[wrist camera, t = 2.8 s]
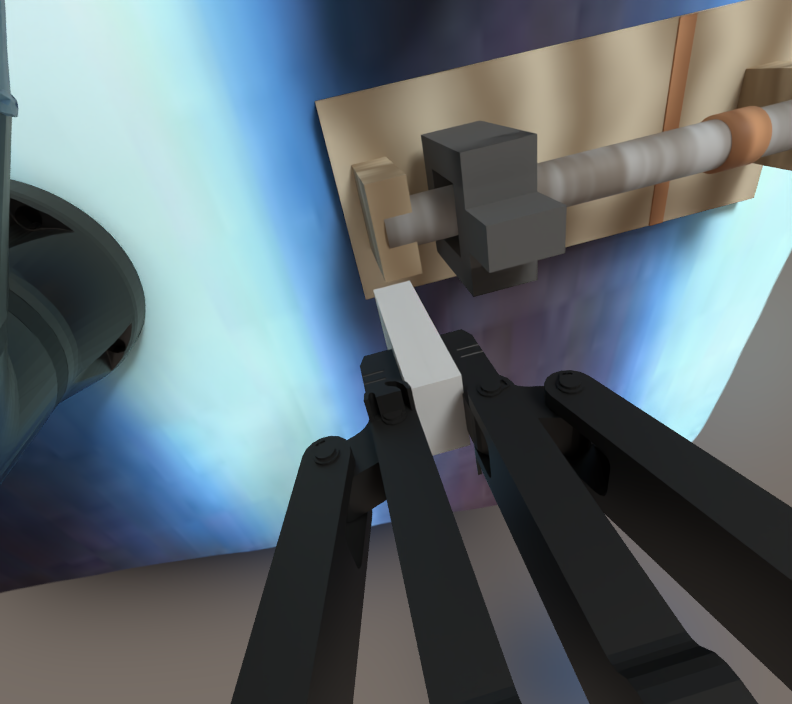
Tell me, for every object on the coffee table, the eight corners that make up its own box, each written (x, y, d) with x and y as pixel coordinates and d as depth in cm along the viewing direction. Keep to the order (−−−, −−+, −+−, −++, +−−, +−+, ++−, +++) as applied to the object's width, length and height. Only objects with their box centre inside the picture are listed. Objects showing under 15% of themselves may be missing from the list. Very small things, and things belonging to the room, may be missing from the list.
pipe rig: (364, 293, 35) (380, 344, 29) (314, 101, 28) (320, 109, 21) (741, 194, 37) (841, 220, 31) (795, -12, 30) (945, -38, 23)
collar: (437, 251, 32) (492, 320, 23) (420, 134, 28) (481, 162, 18) (488, 238, 32) (563, 301, 23) (479, 120, 28) (569, 141, 19)
